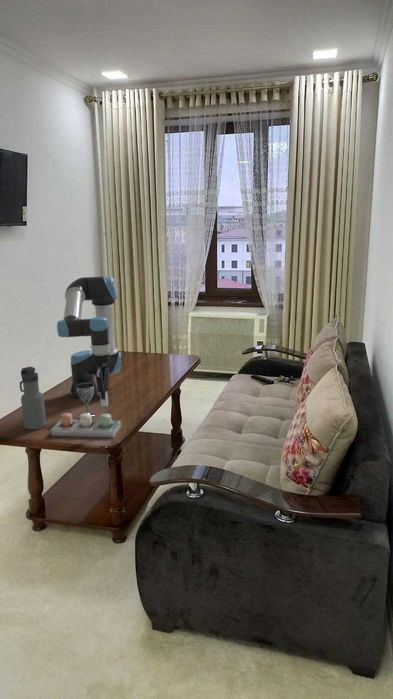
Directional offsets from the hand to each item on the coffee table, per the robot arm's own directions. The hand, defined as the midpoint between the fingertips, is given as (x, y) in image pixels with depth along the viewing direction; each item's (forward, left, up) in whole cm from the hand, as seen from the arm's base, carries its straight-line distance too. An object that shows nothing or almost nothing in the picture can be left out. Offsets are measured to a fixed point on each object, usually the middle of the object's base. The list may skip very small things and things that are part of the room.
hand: (104, 405), depth 223 cm
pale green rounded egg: (0, 0, -10) cm, 10 cm away
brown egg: (0, -18, -10) cm, 21 cm away
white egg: (0, -9, -10) cm, 13 cm away
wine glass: (-19, -15, -13) cm, 27 cm away
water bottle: (-4, -35, -13) cm, 38 cm away
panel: (0, -9, -12) cm, 15 cm away
